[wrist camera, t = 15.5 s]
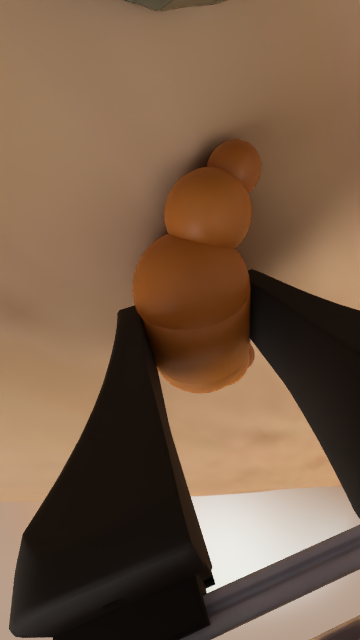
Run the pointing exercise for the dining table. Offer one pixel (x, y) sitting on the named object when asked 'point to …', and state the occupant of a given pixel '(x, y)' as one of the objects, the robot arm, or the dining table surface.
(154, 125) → the dining table surface
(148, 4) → the pot
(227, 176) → the croissant
